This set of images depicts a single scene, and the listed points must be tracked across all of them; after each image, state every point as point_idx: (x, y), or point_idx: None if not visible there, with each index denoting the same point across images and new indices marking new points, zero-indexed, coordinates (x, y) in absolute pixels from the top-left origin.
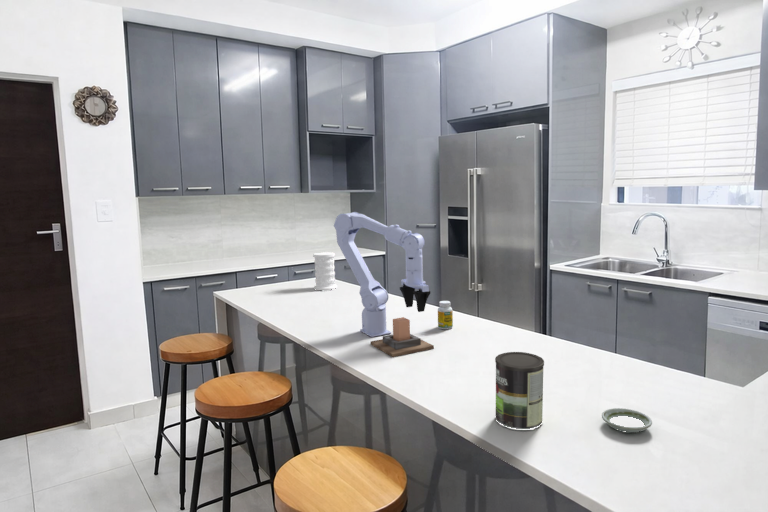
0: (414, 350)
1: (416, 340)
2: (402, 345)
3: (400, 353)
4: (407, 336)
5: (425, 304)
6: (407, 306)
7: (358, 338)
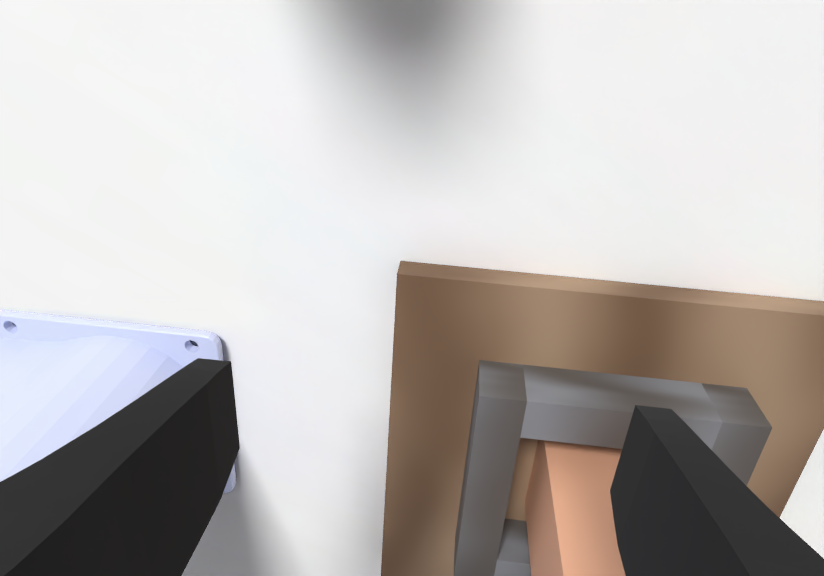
0: (790, 481)
1: (752, 459)
2: None
3: None
4: None
5: (762, 505)
6: (233, 455)
7: (209, 542)
